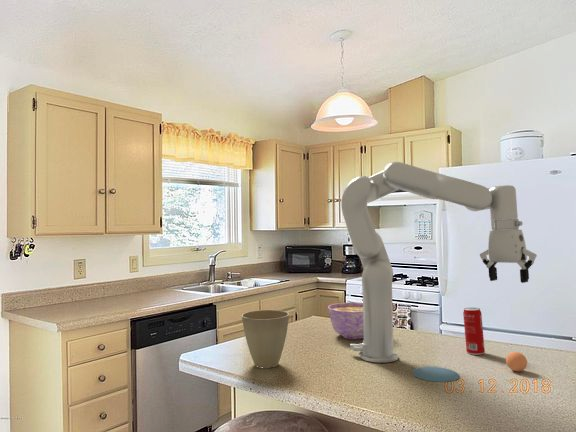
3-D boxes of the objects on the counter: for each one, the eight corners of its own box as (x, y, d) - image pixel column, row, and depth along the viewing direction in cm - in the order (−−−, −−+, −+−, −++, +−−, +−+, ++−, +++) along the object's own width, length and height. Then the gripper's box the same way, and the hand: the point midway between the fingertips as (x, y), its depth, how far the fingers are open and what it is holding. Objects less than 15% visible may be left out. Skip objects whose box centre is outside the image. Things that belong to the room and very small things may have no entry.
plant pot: (262, 355, 153) (261, 308, 153) (298, 362, 144) (298, 312, 145) (232, 367, 141) (231, 315, 141) (270, 375, 132) (269, 321, 132)
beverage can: (486, 355, 150) (485, 310, 150) (465, 355, 151) (464, 309, 151) (482, 351, 156) (481, 307, 156) (462, 350, 157) (461, 306, 157)
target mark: (414, 380, 127) (414, 380, 127) (410, 366, 140) (410, 365, 140) (463, 383, 124) (463, 382, 124) (454, 368, 137) (454, 367, 137)
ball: (509, 373, 132) (509, 354, 132) (503, 367, 137) (503, 349, 138) (530, 374, 131) (529, 355, 131) (523, 368, 136) (523, 349, 137)
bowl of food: (323, 331, 186) (323, 303, 186) (371, 329, 188) (370, 301, 188) (333, 344, 166) (333, 312, 166) (386, 342, 168) (386, 311, 169)
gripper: (539, 224, 135) (543, 281, 134) (485, 226, 149) (488, 278, 148) (527, 225, 131) (531, 284, 130) (472, 227, 145) (475, 281, 144)
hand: (508, 281), depth 139 cm, fingers open, 9 cm apart
